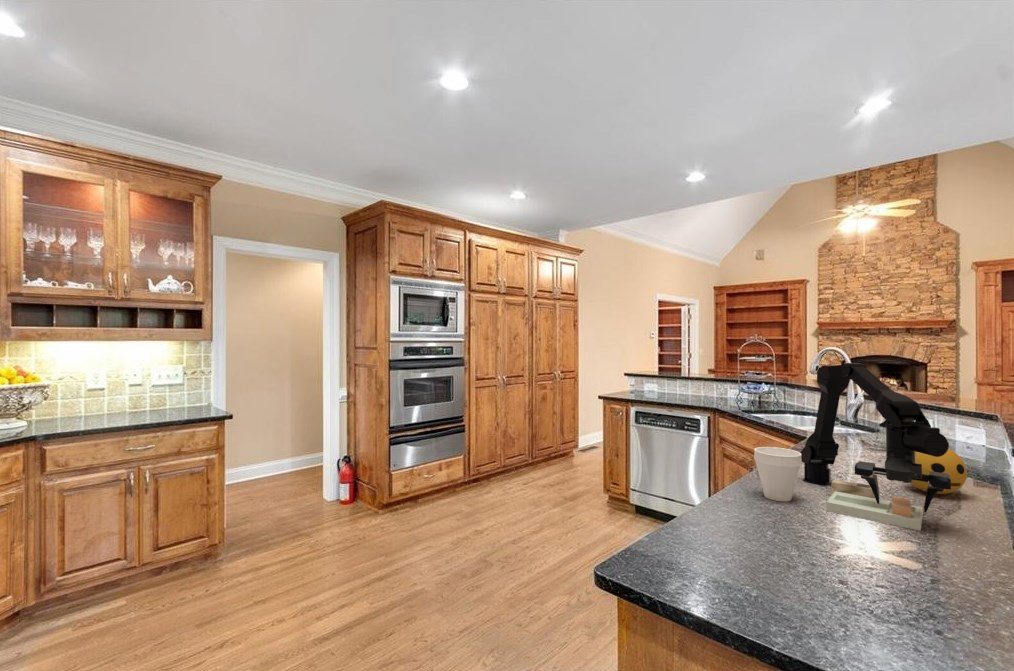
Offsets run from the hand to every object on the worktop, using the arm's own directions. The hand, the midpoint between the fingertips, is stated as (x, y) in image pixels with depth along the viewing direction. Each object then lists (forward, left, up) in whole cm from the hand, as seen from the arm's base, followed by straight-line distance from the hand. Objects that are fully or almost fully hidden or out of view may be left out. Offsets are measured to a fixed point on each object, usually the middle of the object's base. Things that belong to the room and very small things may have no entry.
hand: (901, 507), depth 118 cm
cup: (-28, -4, -3) cm, 28 cm away
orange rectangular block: (0, 0, -2) cm, 2 cm away
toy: (+5, +35, -3) cm, 36 cm away
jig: (-6, 0, -3) cm, 6 cm away
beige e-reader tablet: (-12, +13, -3) cm, 18 cm away
